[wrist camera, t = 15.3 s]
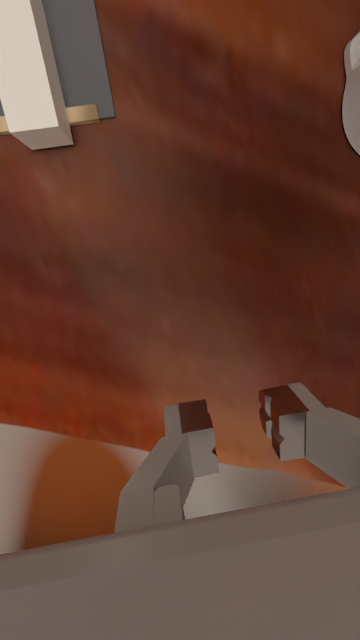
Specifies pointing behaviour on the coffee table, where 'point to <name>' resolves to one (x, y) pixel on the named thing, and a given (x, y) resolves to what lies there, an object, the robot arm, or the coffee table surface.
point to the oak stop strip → (75, 117)
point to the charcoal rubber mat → (78, 55)
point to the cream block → (30, 77)
